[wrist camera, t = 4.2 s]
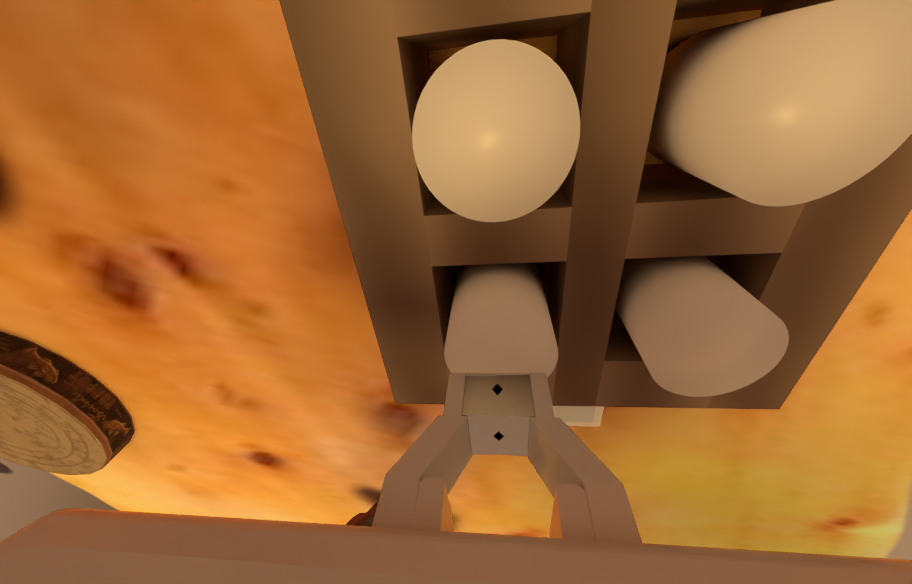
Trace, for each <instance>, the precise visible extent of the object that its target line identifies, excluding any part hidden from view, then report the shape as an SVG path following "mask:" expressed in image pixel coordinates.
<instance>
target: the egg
mask: <svg viewBox="0 0 912 584" xmlns="http://www.w3.org/2000/svg"><path fill="white" fill-rule="evenodd" d="M444 357H445V361H446V364H447V366H448V368H449V370H450V372H451V373H546V375H547V378H548V377H549V376H550V374H551V373H552V372H553V370H554V368H555V366H556V363H557V360H558V347H557V342H556V338H555V334H554V330H553V326H552V322H551V318H550V314H549V310H548V306H547V302H546V298H545V294H544V289H543V285H542V281H541V277H540V273H539V270H538V268H537V266H536V264H535V263H534V262H532V263H506V264H481V265H461V267H460V269H459V271H458V275H457V280H456V285H455V291H454V297H453V302H452V308H451V314H450V319H449V325H448V330H447V336H446V342H445V348H444Z"/></svg>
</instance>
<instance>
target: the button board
mask: <svg viewBox="0 0 912 584" xmlns="http://www.w3.org/2000/svg"><path fill="white" fill-rule="evenodd" d="M279 1H280V5H281V8H282V12H283V15H284V19H285V22H286V25H287V29H288V32H289V36H290V39H291V43H292V46H293V50H294V53H295V57H296V60H297V64H298V67H299V71H300V74H301V77H302V81H303V84H304V88H305V91H306V95H307V98H308V102H309V105H310V109H311V112H312V116H313V119H314V123H315V126H316V129H317V133H318V136H319V140H320V143H321V147H322V150H323V154H324V157H325V161H326V164H327V168H328V171H329V175H330V178H331V181H332V185H333V188H334V192H335V195H336V199H337V202H338V206H339V209H340V213H341V216H342V220H343V223H344V227H345V230H346V233H347V237H348V240H349V244H350V247H351V251H352V254H353V258H354V261H355V265H356V268H357V272H358V275H359V279H360V282H361V285H362V289H363V292H364V296H365V299H366V303H367V306H368V310H369V313H370V317H371V320H372V324H373V327H374V331H375V334H376V338H377V341H378V344H379V348H380V351H381V355H382V358H383V362H384V365H385V369H386V372H387V376H388V379H389V383H390V386H391V390H392V393H393V396H394V400H395V403H399V404H445V401H446V394H447V387H448V380H449V375H450V373H451V372H450V370H449V368H448V366H447V364H446V361H445V357H444V348H445V342H446V336H447V330H448V325H449V319H450V314H451V308H452V302H453V297H454V291H455V290H454V281H453V272H452V266H455V265H481V264H506V263H532V262H545V264H544V282H543V289H544V294H545V298H546V302H547V306H548V310H549V314H550V318H551V322H552V326H553V330H554V334H555V338H556V342H557V347H558V360H557V363H556V366H555V368H554V370H553V372H552V373H551V374H550V376H549V377H548V378H547V379H548V384H549V389H550V395H551V400H552V405H553V406H599V407H665V408H732V409H780V407H781V406H782V404H783V403H784V401H785V400H786V398H787V397H788V395H789V394H790V392H791V391H792V389H793V388H794V386H795V385H796V383H797V382H798V380H799V378H800V377H801V375H802V374H803V372H804V371H805V369H806V368H807V366H808V365H809V363H810V362H811V360H812V359H813V357H814V356H815V354H816V353H817V351H818V350H819V348H820V347H821V345H822V344H823V342H824V341H825V339H826V338H827V336H828V335H829V333H830V332H831V330H832V329H833V327H834V326H835V324H836V323H837V321H838V319H839V318H840V316H841V315H842V313H843V312H844V310H845V309H846V307H847V306H848V304H849V303H850V301H851V300H852V298H853V297H854V295H855V294H856V292H857V291H858V289H859V288H860V286H861V285H862V283H863V282H864V280H865V279H866V277H867V276H868V274H869V273H870V271H871V270H872V268H873V267H874V265H875V263H876V262H877V260H878V259H879V257H880V256H881V254H882V253H883V251H884V250H885V248H886V247H887V245H888V244H889V242H890V241H891V239H892V238H893V236H894V235H895V233H896V232H897V230H898V229H899V227H900V226H901V224H902V223H903V221H904V220H905V218H906V217H907V215H908V214H909V212H910V211H911V209H912V134H911V135H910V136H909V137H908V138H907V139H906V140H905V141H904V142H903V143H902V145H901V146H900V147H899V148H898V149H896V150H895V151H894V152H893V153H892V154H891V155H890V156H889V157H888V158H887V159H885V160H884V161H883V162H882V163H880V164H879V165H878V166H877V167H876V168H874V169H873V170H871V171H870V172H869V173H867V174H866V175H864V176H863V177H861V178H860V179H858V180H856V181H855V182H853V183H851V184H850V185H848V186H846V187H844V188H842V189H840V190H838V191H836V192H834V193H832V194H829V195H827V196H824V197H822V198H819V199H816V200H813V201H809V202H806V203H801V204H797V205H790V206H763V205H758V204H754V203H751V202H748V201H746V200H744V199H742V198H739V197H737V196H735V195H733V194H731V193H729V192H727V191H725V190H723V189H720V188H718V187H716V186H714V185H712V184H710V183H708V182H706V181H704V180H702V179H699V178H697V177H695V176H693V175H691V174H689V173H687V172H685V171H683V170H681V169H678V168H676V167H674V166H672V165H670V164H668V163H665V164H651V165H644V162H645V157H646V152H647V147H648V142H649V137H650V132H651V127H652V122H653V117H654V112H655V107H656V102H657V97H658V92H659V87H660V82H661V77H662V72H663V67H664V62H665V58H666V53H667V48H668V43H669V38H670V33H671V28H672V23H673V20H679V19H687V18H695V17H703V16H711V15H719V14H727V13H735V12H743V11H751V10H759V9H763V13H762V16H761V17H765V16H770V15H774V14H778V13H783V12H787V11H791V10H795V9H800V8H804V7H808V6H813V5H817V4H821V3H826V2H830V1H834V0H279ZM550 35H558V36H557V54H556V64H557V65H558V66H559V67H560V68H561V70H562V71H563V72H564V74H565V75H566V77H567V78H568V80H569V82H570V84H571V86H572V88H573V91H574V93H575V96H576V99H577V103H578V108H579V114H580V138H579V144H578V149H577V153H576V156H575V160H574V162H573V165H572V167H571V169H570V171H569V173H568V175H567V177H566V179H565V180H564V182H563V183H562V184H561V186H560V187H559V189H558V190H557V191H556V192H555V193H554V194H553V195H552V196H551V198H549V199H548V200H547V201H546V202H545V203H544V204H542V205H541V206H540V207H538V208H537V209H535V210H534V211H532V212H530V213H528V214H526V215H524V216H521V217H519V218H516V219H512V220H508V221H502V222H482V221H476V220H472V219H468V218H466V217H463V216H461V215H458V214H457V213H455V212H453V211H451V210H450V209H448V208H447V207H446V206H444V205H443V204H442V203H441V202H440V201H439V200H438V199H437V198H436V197H435V196H434V195H433V194H432V193H431V191H430V190H429V189H428V187H427V186H426V184H425V182H424V181H423V179H422V177H421V175H420V172H419V170H418V167H417V164H416V161H415V156H414V152H413V143H412V126H413V120H414V114H415V110H416V106H417V103H418V100H419V98H420V95H421V93H422V91H423V89H424V87H425V86H426V84H427V82H428V80H429V79H430V78H431V76H430V67H429V58H428V51H430V50H438V49H446V48H454V47H462V46H470V45H473V44H475V43H478V42H482V41H487V40H496V39H506V40H518V39H526V38H534V37H542V36H550ZM684 256H705V257H706V258H708V259H709V260H710V261H711V262H713V263H714V264H715V265H716V266H717V267H719V268H720V269H721V270H722V271H723V272H725V273H726V274H727V275H728V276H729V277H731V278H732V279H733V280H734V281H735V282H737V283H738V284H739V285H740V286H742V287H743V288H744V289H745V290H746V291H748V292H749V293H750V294H751V295H752V296H754V297H755V298H756V299H757V300H758V301H760V302H761V303H762V304H763V305H764V306H766V307H767V308H768V309H769V310H770V311H772V312H773V313H774V314H775V315H777V316H778V317H779V318H780V319H781V320H782V321H783V322H784V324H785V325H786V327H787V330H788V334H789V342H788V346H787V350H786V352H785V354H784V356H783V357H782V359H781V360H780V362H779V363H778V364H777V365H776V366H775V367H774V368H773V369H772V370H771V371H770V372H769V373H767V374H766V375H765V376H763V377H762V378H760V379H759V380H757V381H755V382H753V383H751V384H750V385H748V386H745V387H743V388H741V389H738V390H735V391H732V392H729V393H725V394H720V395H715V396H706V397H691V396H683V395H679V394H675V393H672V392H669V391H667V390H665V389H664V388H662V387H661V386H659V385H658V384H657V383H656V382H655V381H654V379H653V378H652V376H651V374H650V372H649V370H648V369H647V367H646V365H645V363H644V361H643V359H642V357H641V356H640V354H639V352H638V350H637V348H636V346H635V344H634V343H633V341H632V339H631V337H630V335H629V333H628V331H627V330H626V328H625V326H624V324H623V322H622V320H621V318H620V317H619V315H618V313H617V311H616V309H615V305H616V300H617V295H618V290H619V285H620V280H621V275H622V271H623V266H624V261H625V259H633V258H659V257H684Z"/></svg>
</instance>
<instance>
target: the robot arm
mask: <svg viewBox="0 0 912 584" xmlns="http://www.w3.org/2000/svg"><path fill="white" fill-rule="evenodd" d="M499 453H500V455H517V456H528V458H529V460H530V462H531V463H532V465H533V466H534V468H535V469H536V471H537V472H538V474H539V475H540V477H541V478H542V480H543V481H544V483H545V484H546V486H547V487H548V489H549V491H550V492H551V494H552V495H553V497H554V505H553V512H552V520H551V527H550V538H547V537H531V536H515V535H499V534H483V533H466V532H454V524H453V519H452V514H451V510H450V505H449V500H448V493H449V492H450V490H451V488H452V487H453V485H454V484H455V482H456V481H457V479H458V477H459V476H460V474H461V473H462V471H463V469H464V468H465V466H466V465H467V463H468V461H469V460H470V458H471V457H472V454H499ZM0 584H912V560H900V559H885V558H869V557H853V556H837V555H821V554H805V553H788V552H772V551H756V550H740V549H724V548H708V547H692V546H676V545H660V544H644V543H642V541H641V538H640V535H639V532H638V529H637V525H636V522H635V519H634V516H633V513H632V510H631V507H630V504H629V501H628V498H627V495H626V492H625V489H624V485H623V484H622V483H621V482H620V481H619V480H618V479H617V478H616V477H615V475H614V474H613V473H612V472H611V471H610V470H609V469H608V468H607V467H606V466H605V465H604V464H603V463H602V462H601V461H600V460H599V459H598V457H597V456H596V455H595V454H594V453H593V452H592V451H591V450H590V449H589V448H588V447H587V446H586V445H585V444H584V443H583V442H582V441H581V440H580V438H579V437H578V436H577V435H576V434H575V433H574V432H573V431H572V430H571V429H570V428H569V427H568V426H567V425H566V424H565V423H564V422H563V420H562V419H561V418H555V416H554V410H553V405H552V400H551V395H550V389H549V384H548V379H547V375H546V373H450V375H449V380H448V387H447V394H446V401H445V408H444V414H443V416H438V417H437V418H436V419H435V420H434V421H433V423H432V424H431V425H430V426H429V427H428V428H427V429H426V430H425V431H424V433H423V434H422V435H421V436H420V437H419V438H418V439H417V440H416V441H415V443H414V444H413V445H412V446H411V447H410V448H409V449H408V450H407V451H406V453H405V454H404V455H403V456H402V457H401V458H400V459H399V460H398V461H397V463H396V464H395V465H394V466H393V467H392V468H391V469H390V470H389V471H388V473H387V474H386V476H385V479H384V483H383V487H382V490H381V494H380V498H379V501H378V505H377V509H376V513H375V516H374V520H373V524H372V527H369V526H352V525H336V524H320V523H304V522H288V521H272V520H256V519H240V518H224V517H208V516H192V515H176V514H160V513H144V512H127V511H111V510H110V511H109V510H94V509H81V508H71V509H61V510H57V511H54V512H51V513H49V514H47V515H46V516H44V517H42V518H40V519H39V520H36V521H35V522H33V523H31V524H29V525H27V526H26V527H24V528H22V529H21V530H19V531H17V532H16V533H14V534H13V535H11V536H9V537H8V538H6V539H4V540H3V541H1V542H0Z"/></svg>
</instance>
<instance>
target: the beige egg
mask: <svg viewBox="0 0 912 584" xmlns="http://www.w3.org/2000/svg"><path fill="white" fill-rule="evenodd" d="M579 138H580V114H579V108H578V103H577V99H576V96H575V93H574V91H573V88H572V86H571V84H570V82H569V80H568V78H567V77H566V75H565V74H564V72H563V71H562V70H561V68H560V67H559V66H558V65H557V64H556V63H555V62H554V61H553V60H552V59H551V58H550V57H549V56H547V55H546V54H545V53H543V52H542V51H540V50H539V49H537V48H535V47H533V46H531V45H529V44H526V43H522V42H519V41H514V40H506V39H496V40H487V41H482V42H478V43H475V44H473V45H470V46H467V47H465V48H463V49H462V50H460V51H458V52H456V53H455V54H453V55H452V56H451V57H450V58H448V59H447V60H446V61H445V62H444V63H443V64H442V65H441V66H440V67H439V68H438V69H437V70H436V71H435V72H434V74H433V75H432V76H431V78H430V79H429V80H428V82H427V84H426V86H425V87H424V89H423V91H422V93H421V95H420V98H419V100H418V103H417V106H416V110H415V114H414V120H413V126H412V143H413V152H414V156H415V161H416V164H417V167H418V170H419V172H420V175H421V177H422V179H423V181H424V182H425V184H426V186H427V187H428V189H429V190H430V191H431V193H432V194H433V195H434V196H435V197H436V198H437V199H438V200H439V201H440V202H441V203H442V204H443V205H444V206H446V207H447V208H448V209H450V210H451V211H453V212H455V213H457V214H458V215H461V216H463V217H466V218H468V219H472V220H476V221H482V222H502V221H508V220H512V219H516V218H519V217H521V216H524V215H526V214H528V213H530V212H532V211H534V210H535V209H537V208H538V207H540V206H541V205H542V204H544V203H545V202H546V201H547V200H548V199H549V198H551V196H552V195H553V194H554V193H555V192H556V191H557V190H558V189H559V187H560V186H561V184H562V183H563V182H564V180H565V179H566V177H567V175H568V173H569V171H570V169H571V167H572V165H573V162H574V160H575V156H576V153H577V149H578V144H579Z"/></svg>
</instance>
